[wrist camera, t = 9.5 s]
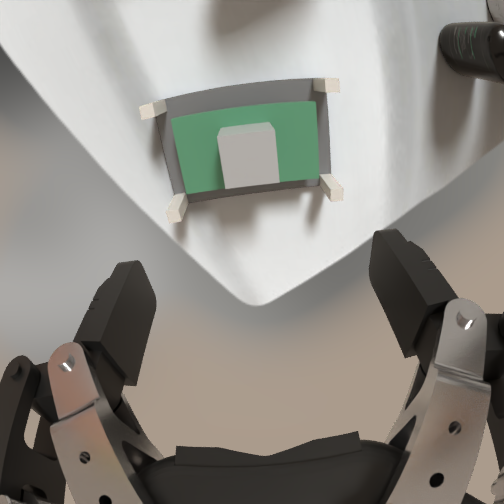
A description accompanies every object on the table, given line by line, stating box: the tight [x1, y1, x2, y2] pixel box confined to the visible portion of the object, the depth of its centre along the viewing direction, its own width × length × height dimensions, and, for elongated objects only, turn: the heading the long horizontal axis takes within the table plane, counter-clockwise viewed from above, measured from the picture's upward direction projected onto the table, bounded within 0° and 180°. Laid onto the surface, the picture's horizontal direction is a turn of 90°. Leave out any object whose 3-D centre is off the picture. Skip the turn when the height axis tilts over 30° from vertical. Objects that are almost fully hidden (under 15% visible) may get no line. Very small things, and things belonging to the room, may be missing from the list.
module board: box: [171, 101, 319, 194], centre depth 21 cm, size 12×7×5 cm, turn 97°
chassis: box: [139, 78, 343, 223], centre depth 24 cm, size 16×11×5 cm
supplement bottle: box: [440, 22, 504, 84], centre depth 14 cm, size 7×7×12 cm
